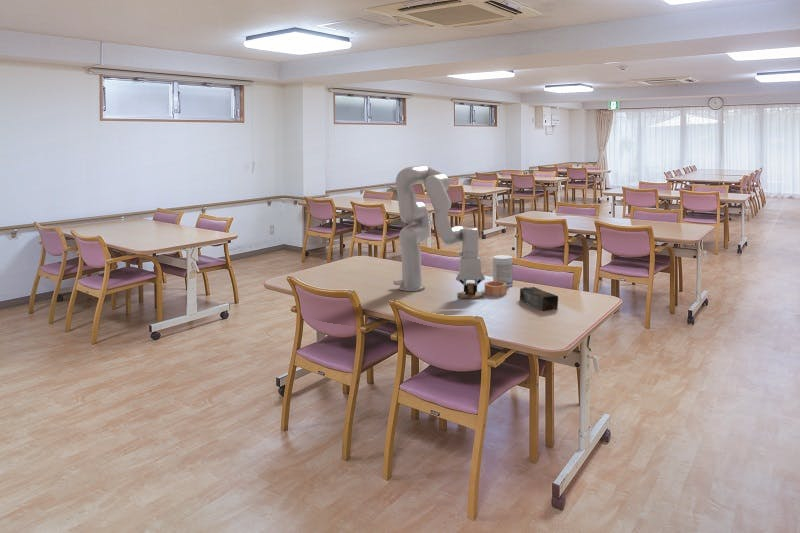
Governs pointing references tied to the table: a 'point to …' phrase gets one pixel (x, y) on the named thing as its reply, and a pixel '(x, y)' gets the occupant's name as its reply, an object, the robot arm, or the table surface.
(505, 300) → the table surface
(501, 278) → the supplement tub
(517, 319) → the table surface
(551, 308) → the beverage carton
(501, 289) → the bowl
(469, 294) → the lid
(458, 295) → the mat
